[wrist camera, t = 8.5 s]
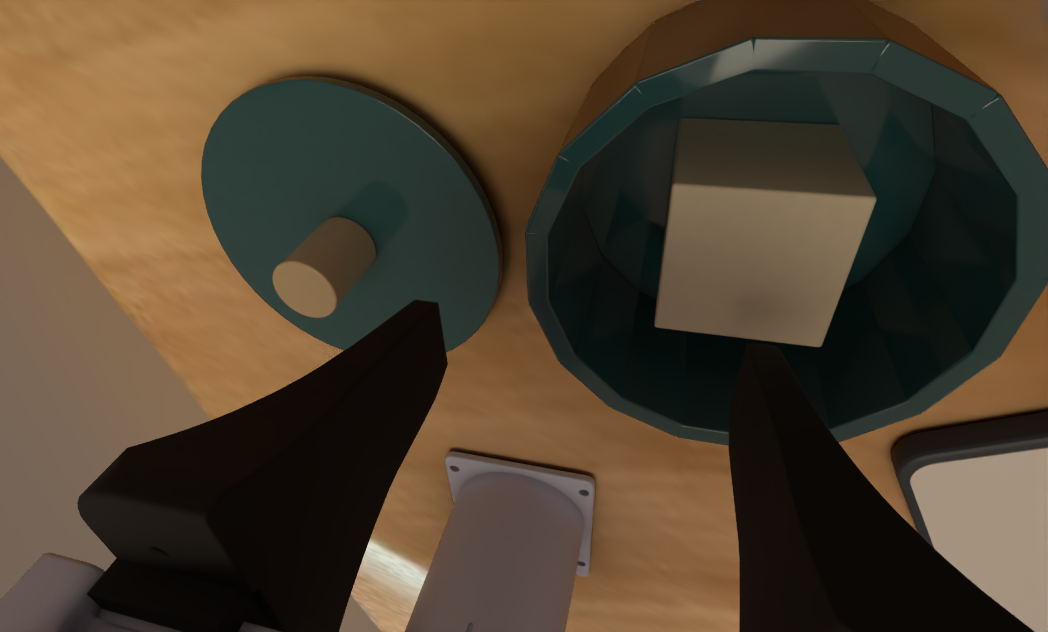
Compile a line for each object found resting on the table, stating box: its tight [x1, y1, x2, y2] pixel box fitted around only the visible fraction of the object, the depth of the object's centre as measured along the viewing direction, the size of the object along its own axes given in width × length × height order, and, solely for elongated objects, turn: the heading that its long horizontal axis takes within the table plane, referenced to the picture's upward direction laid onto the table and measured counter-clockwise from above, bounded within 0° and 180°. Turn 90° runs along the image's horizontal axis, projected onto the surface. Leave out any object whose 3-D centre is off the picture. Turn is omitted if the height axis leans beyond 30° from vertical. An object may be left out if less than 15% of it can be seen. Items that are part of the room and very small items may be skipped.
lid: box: [201, 76, 502, 352], centre depth 21 cm, size 12×12×4 cm
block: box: [654, 118, 876, 347], centre depth 16 cm, size 4×4×5 cm
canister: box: [525, 0, 1048, 446], centre depth 16 cm, size 11×11×6 cm
